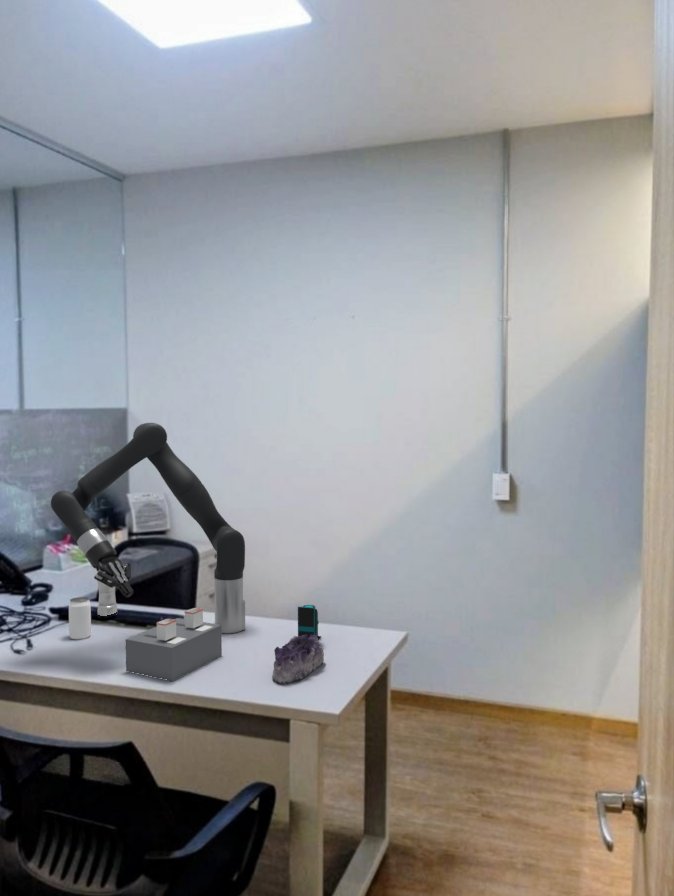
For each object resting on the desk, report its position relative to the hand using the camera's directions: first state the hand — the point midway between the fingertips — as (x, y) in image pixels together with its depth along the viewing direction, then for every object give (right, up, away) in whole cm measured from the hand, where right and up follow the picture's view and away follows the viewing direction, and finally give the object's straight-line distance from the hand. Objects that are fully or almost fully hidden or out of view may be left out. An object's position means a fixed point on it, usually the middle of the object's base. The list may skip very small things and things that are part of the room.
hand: (130, 595), depth 196 cm
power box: (+12, -20, +2) cm, 23 cm away
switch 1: (+11, -11, -5) cm, 17 cm away
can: (-23, -19, +25) cm, 39 cm away
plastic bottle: (-21, -18, +46) cm, 54 cm away
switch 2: (+17, -10, +6) cm, 21 cm away
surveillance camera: (+50, -19, +20) cm, 57 cm away
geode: (+47, -20, -5) cm, 51 cm away
